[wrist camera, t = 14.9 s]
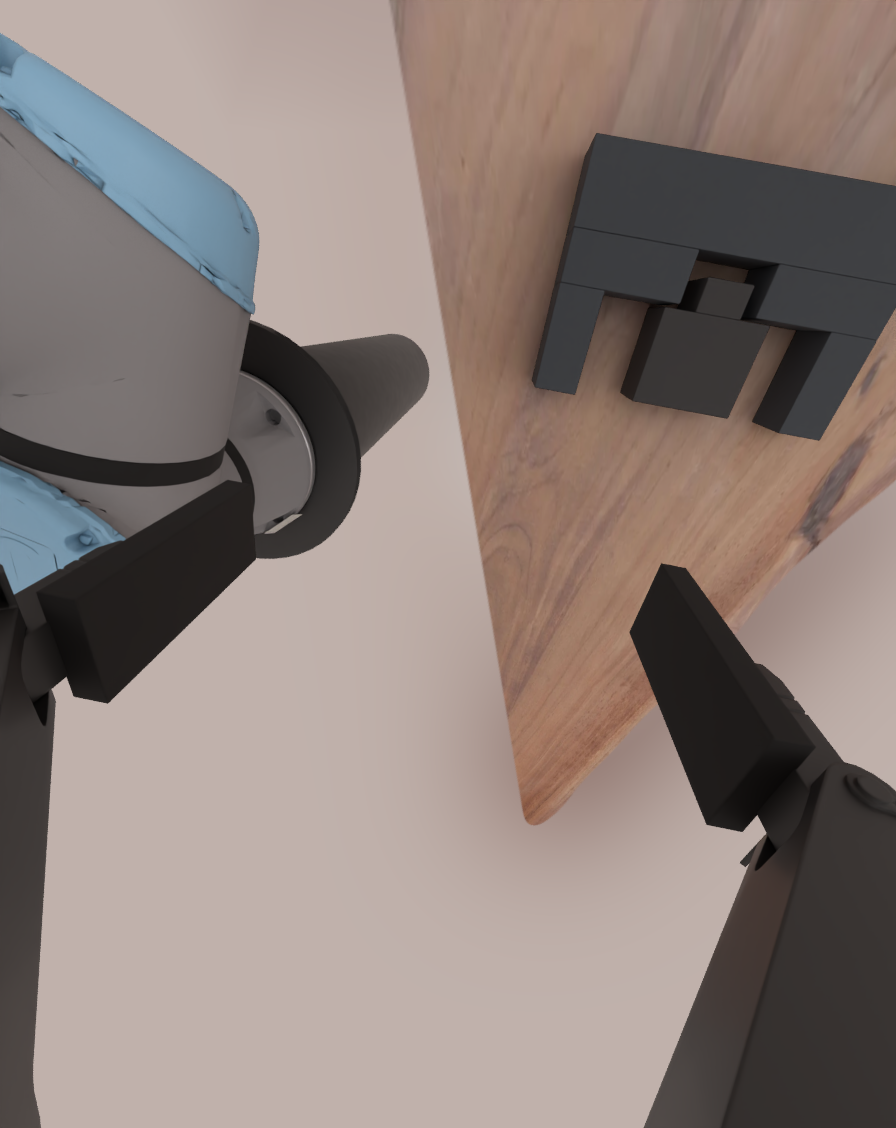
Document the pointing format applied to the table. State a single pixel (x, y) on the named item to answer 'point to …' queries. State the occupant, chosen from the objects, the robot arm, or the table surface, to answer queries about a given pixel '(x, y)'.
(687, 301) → the black block
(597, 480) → the table surface
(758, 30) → the table surface
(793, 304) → the pad base
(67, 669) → the robot arm
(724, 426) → the table surface
